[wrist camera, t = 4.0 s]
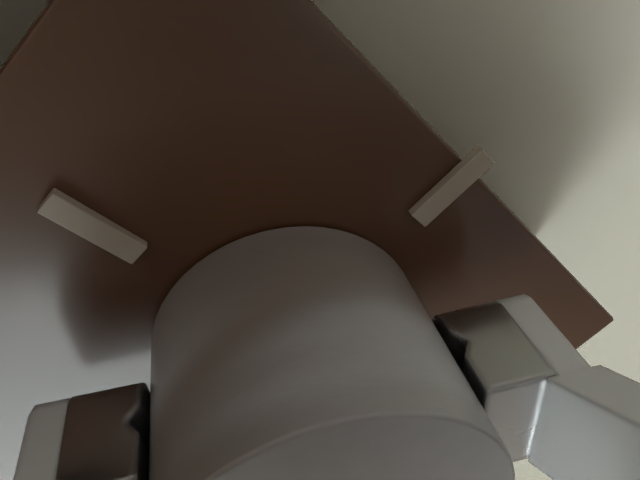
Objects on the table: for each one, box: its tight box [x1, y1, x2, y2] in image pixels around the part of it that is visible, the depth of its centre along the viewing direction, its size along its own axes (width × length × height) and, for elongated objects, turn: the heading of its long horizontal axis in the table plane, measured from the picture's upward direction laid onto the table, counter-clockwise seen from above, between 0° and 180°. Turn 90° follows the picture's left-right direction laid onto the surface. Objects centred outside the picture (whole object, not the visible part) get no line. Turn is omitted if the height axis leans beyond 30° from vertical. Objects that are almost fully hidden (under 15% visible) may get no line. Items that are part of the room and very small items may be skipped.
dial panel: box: [0, 0, 613, 480], centre depth 11 cm, size 14×11×3 cm
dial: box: [149, 226, 515, 480], centre depth 8 cm, size 4×4×4 cm
